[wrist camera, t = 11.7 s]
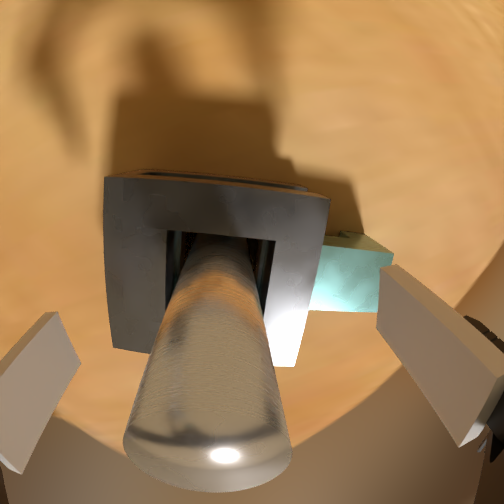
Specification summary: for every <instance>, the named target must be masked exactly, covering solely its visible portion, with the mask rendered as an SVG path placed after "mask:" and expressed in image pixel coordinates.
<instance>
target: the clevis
mask: <svg viewBox="0 0 504 504" xmlns="http://www.w3.org/2000/svg"><path fill="white" fill-rule="evenodd" d="M307 189H308V188H306V187H304V186H301V185H297V184H290V183H283V182H276V181H268V180H260V179H252V178H244V177H235V176H225V175H215V174H205V173H193V172H181V171H167V170H150V169H143V170H137V171H131V172H126V173H121V174H115V175H110V176H106V177H104V205H103V236H104V264H105V280H106V293H107V303H108V313H109V321H110V329H111V336H112V343H113V348H118V349H124V350H129V351H135V352H141V353H147V354H150V353H151V350H152V348H153V345H154V342H155V339H156V337H157V334H158V331H159V328H160V326H161V323H162V320H163V318H164V315H165V312H166V310H167V307H168V304H169V302H170V299H171V297H172V294H173V292H174V289H175V286H176V284H177V281H178V279H179V276H180V274H181V271H182V269H183V267H184V261H185V243H186V231H187V232H197V233H207V234H217V235H227V236H236V237H246V238H255V239H259V244H258V251H257V258H256V266H255V273H254V278H255V282H256V287H257V292H258V296H259V301H260V306H261V310H262V315H263V319H264V324H265V329H266V333H267V338H268V342H269V347H270V352H271V356H272V361H273V365H274V366H294V365H295V361H296V357H297V353H298V350H299V346H300V342H301V338H302V334H303V330H304V326H305V322H306V318H307V314H308V310H327V311H350V312H377V310H378V299H379V280H380V267H385V266H390V265H391V263H392V260H393V256H394V253H392V252H391V251H389V250H388V249H386V248H385V247H383V246H382V245H380V244H379V243H377V242H376V241H374V240H373V239H371V238H370V237H368V236H367V235H365V234H361V233H353V232H346V231H340V236H339V237H336V236H328V235H325V230H326V224H327V219H328V213H329V208H330V202H331V199H329V198H327V197H325V196H323V195H321V194H319V193H312V192H307Z"/></svg>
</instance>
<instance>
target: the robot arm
mask: <svg viewBox="0 0 504 504" xmlns="http://www.w3.org/2000/svg"><path fill="white" fill-rule="evenodd" d="M376 328H377V330H378V331H379V332H380V334H381V335H382V337H383V338H384V339H385V341H386V342H387V343H388V345H389V346H390V347H391V349H392V350H393V351H394V353H395V354H396V356H397V357H398V358H399V360H400V361H401V363H402V364H403V365H404V366H405V368H406V370H407V371H408V372H409V374H410V375H411V376H412V378H413V379H414V381H415V382H416V384H417V385H418V387H419V388H420V390H421V391H422V392H423V394H424V395H425V397H426V398H427V399H428V401H429V402H430V404H431V406H432V407H433V409H434V410H435V411H436V413H437V415H438V416H439V418H440V419H441V421H442V422H443V424H444V425H445V427H446V428H447V430H448V431H449V433H450V435H451V436H452V438H453V439H454V441H455V442H456V444H457V446H458V447H460V446H462V445H464V444H466V443H467V442H469V441H471V440H472V439H474V438H476V437H477V436H478V435H479V434H480V432H481V431H482V429H483V428H484V426H485V424H487V425H488V426H489V428H490V429H491V430H490V431H489V433H488V434H487V436H486V437H485V439H484V440H483V441H482V443H481V444H480V446H479V448H478V451H477V452H480V451H481V450H482V449H483V447H484V446H485V445H486V449H485V451H484V453H485V455H484V460H483V466H482V471H481V476H480V480H479V485H478V489H477V493H476V497H475V501H474V504H504V342H503V341H502V340H501V339H498V338H497V336H496V335H495V334H494V333H493V332H490V331H489V329H488V328H487V327H485V325H483V324H482V323H481V322H480V321H478V320H476V319H473V318H471V317H469V316H464V317H462V316H461V315H460V314H459V313H458V312H456V311H455V310H454V309H453V308H452V307H450V306H449V305H448V304H447V303H446V302H444V301H443V300H442V299H441V298H439V297H438V296H437V295H436V294H435V293H433V292H432V291H431V290H430V289H428V288H427V287H426V286H424V285H423V284H422V283H421V282H419V281H418V280H417V279H416V278H414V277H413V276H412V275H410V274H409V273H408V272H406V271H405V270H404V269H403V268H401V267H400V266H399V265H397V264H395V265H390V266H385V267H380V280H379V299H378V313H377V325H376ZM80 365H81V362H80V360H79V358H78V356H77V354H76V352H75V350H74V348H73V346H72V344H71V342H70V339H69V337H68V335H67V333H66V331H65V328H64V326H63V324H62V321H61V319H60V317H59V314H58V312H46V313H44V314H43V315H42V316H41V317H40V318H39V319H38V321H37V322H36V323H35V324H34V325H33V326H32V327H31V328H30V329H29V330H28V331H27V332H26V333H25V334H24V335H23V336H22V337H21V339H20V340H19V341H18V342H17V343H16V344H15V345H14V346H13V347H12V348H11V350H10V351H9V352H8V353H7V354H6V355H5V356H4V358H3V359H2V360H1V361H0V461H1V462H3V463H4V465H5V466H7V467H8V468H9V469H11V470H13V471H15V472H17V473H20V474H22V473H23V471H24V469H25V466H26V465H27V462H28V460H29V458H30V456H31V454H32V452H33V450H34V448H35V446H36V444H37V442H38V440H39V438H40V436H41V434H42V432H43V430H44V428H45V426H46V424H47V422H48V420H49V419H50V417H51V415H52V413H53V411H54V409H55V408H56V406H57V404H58V402H59V400H60V399H61V397H62V395H63V393H64V392H65V390H66V388H67V386H68V385H69V383H70V381H71V379H72V378H73V376H74V374H75V373H76V371H77V369H78V368H79V366H80ZM0 504H9V503H8V499H7V494H6V490H5V485H4V480H3V474H2V470H1V467H0Z"/></svg>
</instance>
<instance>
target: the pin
mask: <svg viewBox="0 0 504 504" xmlns="http://www.w3.org/2000/svg"><path fill="white" fill-rule="evenodd" d="M123 446H124V450H125V452H126V454H127V456H128V457H129V458H130V460H131V461H132V462H133V463H134V464H135V465H136V466H137V467H138V468H139V469H141V470H142V471H143V472H145V473H146V474H148V475H150V476H152V477H153V478H155V479H157V480H160V481H162V482H164V483H167V484H170V485H172V486H176V487H179V488H183V489H187V490H193V491H202V492H231V491H239V490H244V489H249V488H252V487H255V486H259V485H261V484H263V483H266V482H268V481H270V480H272V479H273V478H275V477H276V476H278V475H279V474H280V473H282V472H283V471H284V470H285V469H286V468H287V466H288V464H289V463H290V461H291V458H292V447H291V443H290V438H289V434H288V429H287V425H286V420H285V416H284V411H283V406H282V402H281V397H280V393H279V388H278V384H277V379H276V375H275V370H274V365H273V361H272V356H271V352H270V347H269V342H268V338H267V333H266V329H265V324H264V319H263V315H262V310H261V306H260V301H259V296H258V292H257V287H256V282H255V278H254V273H253V269H252V264H251V259H250V255H249V250H248V245H247V241H246V237H236V236H227V235H217V234H207V233H197V235H196V238H195V240H194V242H193V245H192V247H191V250H190V252H189V254H188V257H187V259H186V262H185V264H184V267H183V269H182V271H181V274H180V276H179V279H178V281H177V284H176V286H175V289H174V292H173V294H172V297H171V299H170V302H169V304H168V307H167V310H166V312H165V315H164V318H163V320H162V323H161V326H160V328H159V331H158V334H157V337H156V339H155V342H154V345H153V348H152V350H151V353H150V356H149V359H148V362H147V365H146V368H145V371H144V374H143V377H142V380H141V383H140V386H139V389H138V392H137V395H136V398H135V401H134V404H133V407H132V410H131V414H130V417H129V420H128V423H127V427H126V430H125V433H124V437H123Z"/></svg>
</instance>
